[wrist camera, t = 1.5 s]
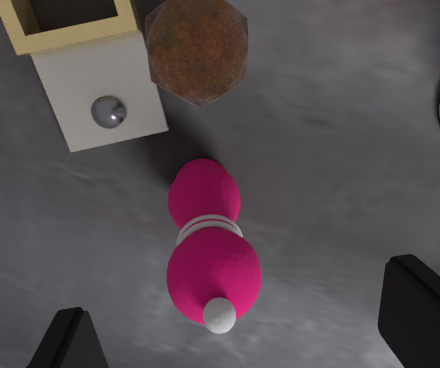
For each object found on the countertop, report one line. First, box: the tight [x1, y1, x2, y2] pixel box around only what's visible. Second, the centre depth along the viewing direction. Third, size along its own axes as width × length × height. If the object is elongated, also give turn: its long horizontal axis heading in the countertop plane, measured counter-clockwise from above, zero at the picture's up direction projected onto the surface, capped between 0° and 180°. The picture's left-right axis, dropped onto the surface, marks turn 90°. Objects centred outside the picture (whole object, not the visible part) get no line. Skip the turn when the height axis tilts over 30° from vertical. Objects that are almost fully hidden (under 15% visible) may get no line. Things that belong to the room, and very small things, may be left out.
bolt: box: [145, 0, 248, 108], centre depth 21 cm, size 6×5×15 cm
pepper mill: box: [167, 159, 261, 334], centre depth 24 cm, size 7×7×20 cm
